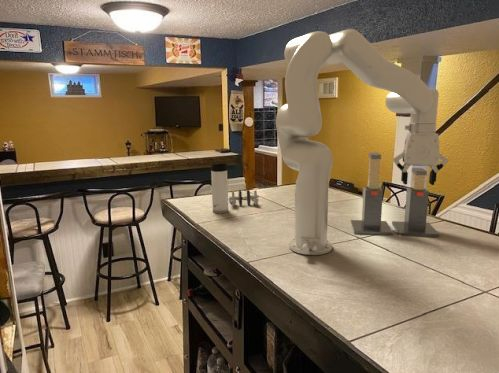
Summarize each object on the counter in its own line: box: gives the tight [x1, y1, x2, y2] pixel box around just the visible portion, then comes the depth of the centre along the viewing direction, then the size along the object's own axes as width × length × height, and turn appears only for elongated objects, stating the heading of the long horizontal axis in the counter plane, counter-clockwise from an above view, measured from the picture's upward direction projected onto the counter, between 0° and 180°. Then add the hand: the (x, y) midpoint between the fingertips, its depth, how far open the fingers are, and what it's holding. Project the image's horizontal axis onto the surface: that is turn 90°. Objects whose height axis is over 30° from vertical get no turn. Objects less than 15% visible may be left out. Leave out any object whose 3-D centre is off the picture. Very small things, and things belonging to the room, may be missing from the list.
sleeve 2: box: [391, 186, 440, 238], centre depth 126 cm, size 12×12×14 cm
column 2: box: [411, 167, 428, 191], centre depth 125 cm, size 6×3×19 cm, turn 171°
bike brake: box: [228, 189, 259, 207], centre depth 167 cm, size 14×7×20 cm
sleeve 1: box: [350, 186, 394, 236], centre depth 128 cm, size 12×12×14 cm
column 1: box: [367, 151, 382, 190], centre depth 126 cm, size 6×3×19 cm, turn 171°
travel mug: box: [210, 162, 229, 214], centre depth 151 cm, size 6×7×20 cm
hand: (418, 183), depth 124 cm, fingers open, 7 cm apart
